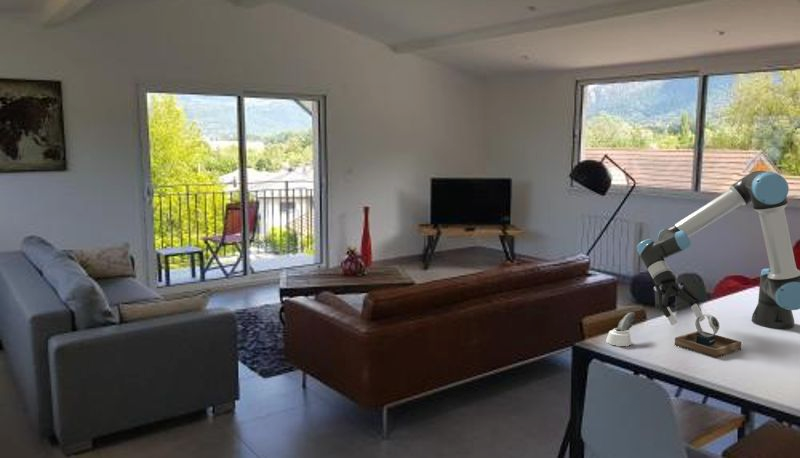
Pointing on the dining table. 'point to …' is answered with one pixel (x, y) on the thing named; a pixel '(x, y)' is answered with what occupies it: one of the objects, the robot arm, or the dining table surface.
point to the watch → (704, 337)
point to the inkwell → (621, 332)
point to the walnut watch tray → (715, 350)
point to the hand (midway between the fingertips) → (688, 322)
